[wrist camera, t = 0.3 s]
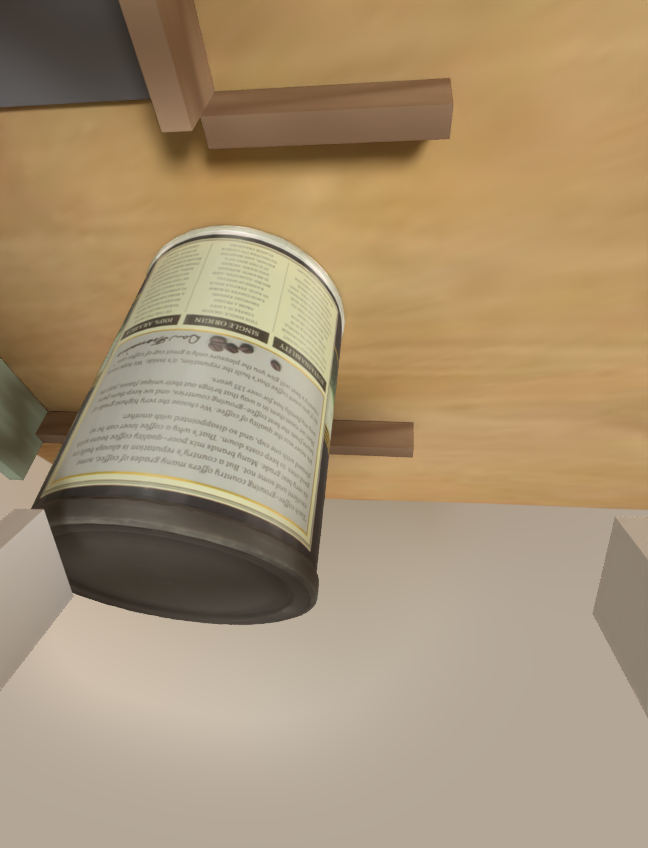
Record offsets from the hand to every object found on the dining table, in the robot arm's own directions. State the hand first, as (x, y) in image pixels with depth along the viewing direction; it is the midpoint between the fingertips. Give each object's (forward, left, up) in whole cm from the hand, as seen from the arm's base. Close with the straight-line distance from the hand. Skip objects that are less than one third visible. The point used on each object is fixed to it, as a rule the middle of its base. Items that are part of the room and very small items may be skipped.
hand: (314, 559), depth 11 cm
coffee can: (+5, -6, -15) cm, 17 cm away
